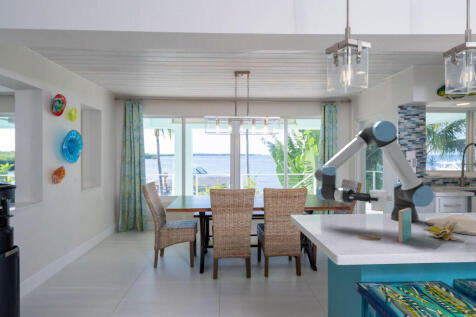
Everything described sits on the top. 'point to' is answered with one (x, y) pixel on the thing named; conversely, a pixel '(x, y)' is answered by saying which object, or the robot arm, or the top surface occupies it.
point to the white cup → (378, 205)
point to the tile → (404, 224)
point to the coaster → (368, 237)
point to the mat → (422, 242)
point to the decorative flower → (443, 230)
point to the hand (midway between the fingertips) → (388, 199)
